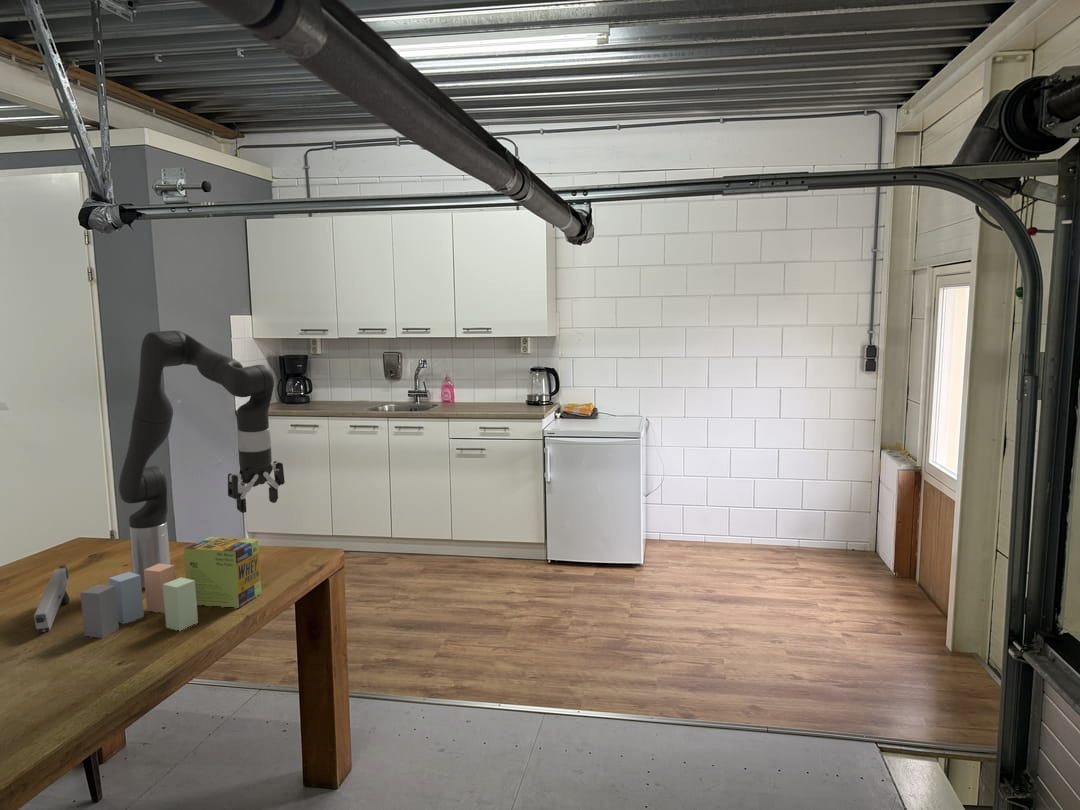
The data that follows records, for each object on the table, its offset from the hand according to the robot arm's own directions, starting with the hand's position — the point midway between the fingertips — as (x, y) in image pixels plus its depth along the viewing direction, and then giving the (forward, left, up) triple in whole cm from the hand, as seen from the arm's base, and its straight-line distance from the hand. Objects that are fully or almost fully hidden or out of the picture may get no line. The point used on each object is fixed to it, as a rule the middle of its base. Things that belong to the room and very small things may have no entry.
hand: (258, 506), depth 180 cm
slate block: (-27, -18, -27) cm, 43 cm away
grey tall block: (-25, -26, -27) cm, 46 cm away
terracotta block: (-25, -10, -27) cm, 39 cm away
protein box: (-15, +1, -28) cm, 31 cm away
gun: (-46, -25, -28) cm, 59 cm away
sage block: (-11, -15, -27) cm, 33 cm away
